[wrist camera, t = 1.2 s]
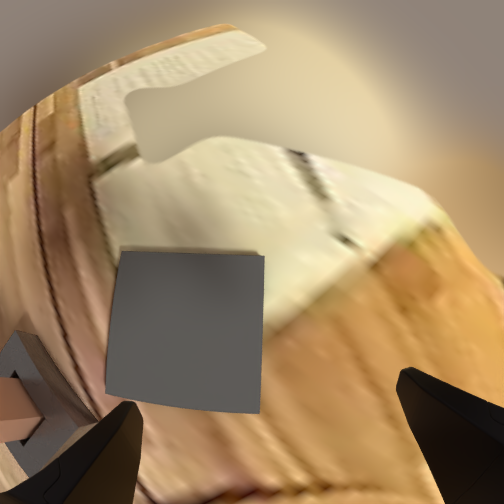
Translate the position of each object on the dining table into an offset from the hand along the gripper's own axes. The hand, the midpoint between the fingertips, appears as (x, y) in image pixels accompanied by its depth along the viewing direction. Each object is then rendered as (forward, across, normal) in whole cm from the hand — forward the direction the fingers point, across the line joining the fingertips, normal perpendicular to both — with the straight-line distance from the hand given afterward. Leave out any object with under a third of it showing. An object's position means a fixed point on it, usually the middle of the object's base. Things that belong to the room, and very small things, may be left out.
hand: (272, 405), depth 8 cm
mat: (+14, +6, +5) cm, 16 cm away
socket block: (+9, +23, +12) cm, 27 cm away
